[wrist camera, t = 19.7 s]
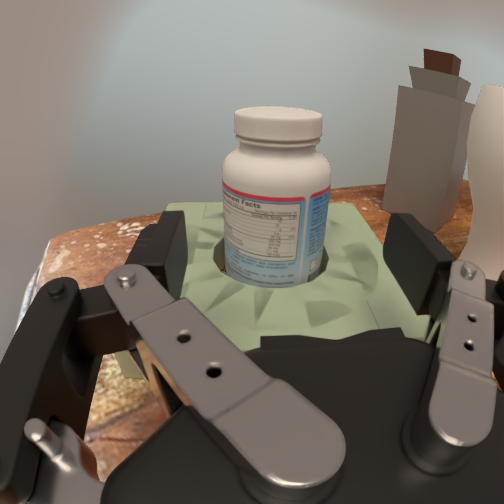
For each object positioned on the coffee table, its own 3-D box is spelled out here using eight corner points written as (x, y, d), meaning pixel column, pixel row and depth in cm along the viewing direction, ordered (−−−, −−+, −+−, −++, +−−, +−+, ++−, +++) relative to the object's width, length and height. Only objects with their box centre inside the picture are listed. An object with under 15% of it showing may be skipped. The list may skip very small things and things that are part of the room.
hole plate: (124, 377, 15) (110, 345, 13) (171, 228, 28) (169, 202, 27) (422, 365, 15) (439, 334, 14) (348, 228, 29) (352, 203, 28)
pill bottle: (282, 251, 25) (290, 103, 19) (334, 294, 21) (361, 120, 15) (210, 274, 23) (202, 108, 17) (255, 329, 18) (261, 122, 12)
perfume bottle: (405, 196, 37) (424, 54, 27) (452, 216, 32) (479, 66, 23) (381, 208, 33) (401, 43, 23) (435, 233, 29) (466, 54, 19)
